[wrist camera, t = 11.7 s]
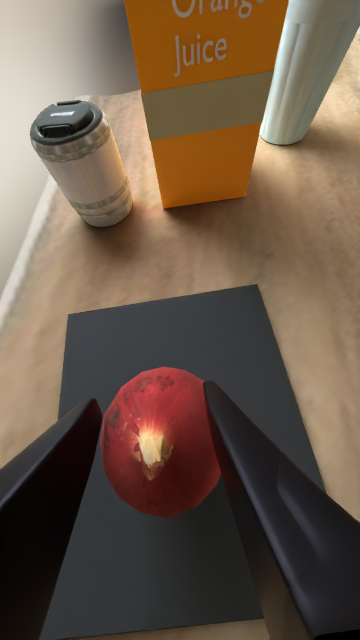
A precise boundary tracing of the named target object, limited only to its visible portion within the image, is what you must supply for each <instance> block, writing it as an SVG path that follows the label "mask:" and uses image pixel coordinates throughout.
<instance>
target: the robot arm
mask: <svg viewBox="0 0 360 640" xmlns="http://www.w3.org/2000/svg"><path fill="white" fill-rule="evenodd" d="M203 389H204V397H205V403H206V409H207V414H208V420H209V426H210V431H211V437H212V442H213V446H214V450H215V454H216V457H217V460H218V464H219V467H220V471H221V474H222V477H223V481H224V484H225V487H226V491H227V494H228V498H229V501H230V504H231V508H232V511H233V515H234V518H235V521H236V525H237V528H238V531H239V535H240V538H241V542H242V545H243V548H244V552H245V555H246V559H247V562H248V565H249V569H250V572H251V575H252V579H253V582H254V586H255V589H256V592H257V596H258V599H259V603H260V606H261V609H262V613H263V616H264V619H265V623H266V626H267V630H268V633H269V636H270V640H360V523H359V522H358V521H357V520H356V519H355V518H353V517H352V516H351V515H350V514H349V513H348V512H346V511H345V510H344V509H343V508H342V507H341V506H340V505H338V504H337V503H336V502H335V501H334V500H333V499H332V498H331V497H330V496H328V495H327V494H326V493H325V492H324V491H323V490H322V489H321V488H319V487H318V486H317V485H316V484H315V483H314V482H313V481H312V480H311V479H310V478H309V477H308V476H307V475H306V474H305V473H304V472H303V471H302V470H301V469H300V468H299V467H298V466H297V465H296V464H295V463H294V462H293V461H292V460H291V459H290V458H289V457H288V456H287V455H286V454H285V453H284V452H281V449H280V448H279V447H278V446H277V445H276V444H275V443H274V442H273V441H272V440H271V439H270V438H269V437H268V436H267V435H266V434H265V433H264V432H263V431H262V430H261V429H260V428H259V427H258V426H257V425H256V424H255V423H254V422H253V421H252V420H251V419H250V418H249V417H248V416H247V415H246V413H245V412H244V411H243V410H242V409H241V408H240V407H239V406H238V405H237V404H236V403H235V402H234V401H233V400H232V399H231V398H230V397H229V396H228V395H227V394H226V393H225V392H224V391H223V390H222V389H221V388H220V387H219V386H218V385H217V384H216V383H215V382H214V381H205V382H203ZM102 419H103V415H102V411H101V409H100V406H99V404H98V401H97V399H96V398H88V399H84V400H82V401H81V402H80V403H79V404H78V405H77V406H75V407H74V408H73V409H72V410H71V411H69V412H68V413H67V414H66V415H65V416H63V417H62V418H61V419H60V420H59V421H57V422H56V423H55V424H54V425H53V426H52V427H50V428H49V429H48V430H47V431H46V432H44V433H43V434H42V435H41V436H40V437H38V438H37V439H36V440H35V441H34V442H32V443H31V444H30V445H29V446H28V447H26V448H25V449H24V450H23V451H22V452H21V453H19V454H18V455H17V456H16V457H15V458H13V459H12V460H11V461H10V462H9V463H7V464H6V465H5V466H4V467H3V468H1V469H0V640H39V639H40V636H41V632H42V629H43V626H44V623H45V619H46V616H47V613H48V609H49V606H50V603H51V600H52V596H53V593H54V590H55V587H56V583H57V580H58V577H59V573H60V570H61V567H62V564H63V560H64V557H65V554H66V551H67V547H68V544H69V541H70V537H71V534H72V531H73V528H74V524H75V521H76V518H77V515H78V511H79V508H80V505H81V501H82V498H83V495H84V492H85V488H86V485H87V482H88V479H89V475H90V472H91V469H92V465H93V462H94V457H95V453H96V448H97V443H98V438H99V434H100V429H101V424H102Z"/></svg>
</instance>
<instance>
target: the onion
mask: <svg viewBox="0 0 360 640" xmlns="http://www.w3.org/2000/svg"><path fill="white" fill-rule="evenodd" d="M203 382H205V381H204V380H202V379H200V378H198V377H196V376H195V375H193V374H191V373H189V372H187V371H185V370H181V369H175V368H169V367H160V368H156V369H152V370H148V371H144V372H141V373H140V374H139V375H137V376H136V377H135V378H133V379H132V380H131V381H129V382H128V383H126V384H125V385H124V386H122V387H121V389H120V390H119V392H118V393H117V395H116V397H115V398H114V400H113V401H112V403H111V405H110V406H109V408H108V409H107V411H106V412H105V414H104V419H103V426H102V433H101V440H100V447H101V453H102V459H103V465H104V471H105V475H106V476H107V478H108V480H109V482H110V483H111V485H112V487H113V489H114V490H115V492H116V494H117V496H118V497H119V498H120V499H122V500H123V501H124V502H126V503H127V504H129V505H130V506H132V507H133V508H134V509H136V510H137V511H139V512H140V513H144V514H149V515H153V516H158V517H162V518H167V519H168V518H170V517H173V516H175V515H178V514H180V513H183V512H185V511H188V510H190V509H193V508H195V507H197V506H198V505H199V504H200V503H201V502H202V501H203V499H204V498H205V497H206V496H207V495H208V494H209V493H210V492H211V491H212V490H213V488H214V487H215V486H216V485H217V483H218V480H219V477H220V475H221V471H220V467H219V464H218V460H217V457H216V454H215V450H214V446H213V442H212V437H211V431H210V426H209V420H208V414H207V409H206V403H205V397H204V389H203Z"/></svg>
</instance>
